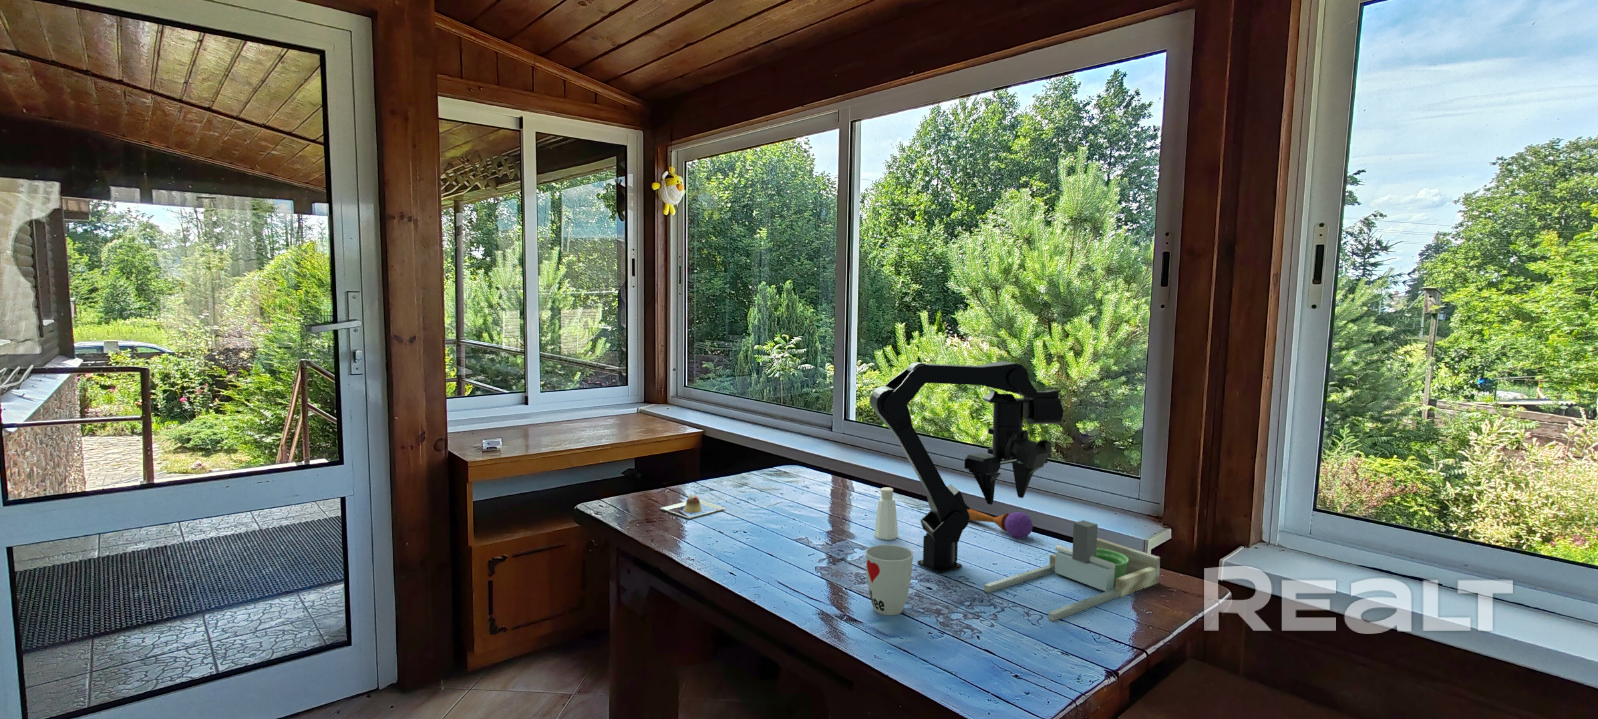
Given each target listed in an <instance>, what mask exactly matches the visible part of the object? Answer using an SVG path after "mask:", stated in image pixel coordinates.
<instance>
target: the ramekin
mask: <svg viewBox="0 0 1598 719" xmlns="http://www.w3.org/2000/svg"><path fill="white" fill-rule="evenodd" d="M1096 557H1097V558H1100V559H1103V560H1106V561H1109V562H1112V563H1115V571H1114V586H1115V585H1116V578H1119V577H1122V576H1125V575H1127V574H1126V570H1127V565H1128V562H1129V559H1128V558H1127V557H1126V556H1125V555H1123V554H1121V553H1118V552H1115V551H1111V550H1106V549H1098V548H1097V551H1096Z"/></svg>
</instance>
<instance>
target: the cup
mask: <svg viewBox="0 0 1598 719" xmlns="http://www.w3.org/2000/svg"><path fill="white" fill-rule="evenodd" d="M913 559H914V553H913V551H912V550H911V549H910V548H908V547H904V546H901V545H896V544H877V545H872V546H870V547H868V548H866V549H865V572H866V580H867V586H868V594H869V598H870V602H871V605H872V608H873V611H874V612H876V613H878V614H880V615H883V616H896V615H899V614H902V613H903V610H904V607H905V605H906V603H907V599H908V595H909V590H910V585H911V581H912V571H913V561H914V560H913Z"/></svg>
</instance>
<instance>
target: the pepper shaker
mask: <svg viewBox="0 0 1598 719" xmlns="http://www.w3.org/2000/svg"><path fill="white" fill-rule="evenodd" d="M880 491H881V492H880V495H881V496H880V498H879V499H878V502H877V509H876V510H877V511H876V518H875V527H874V537H876V538H877V539H878V538H879V540H884V539H885V541H890V540H895V539H897V538H898V537H899V530H898V528H899V527H898V519H897V518H898V516H897V506H896V505H897V504H896V500H895V499H894V498H893V496H894V488H892V487H887V486H886V487H882V488H880Z"/></svg>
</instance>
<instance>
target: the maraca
mask: <svg viewBox="0 0 1598 719" xmlns="http://www.w3.org/2000/svg"><path fill="white" fill-rule="evenodd" d="M967 511H968V513H969V515H970V520H969V521H972V522H973V521H974V522H988V523H994V524H996V525H997V526H998V527H999V529H1001V530H1002V531H1003V532H1005V533H1007V534H1008V535H1009V536H1011V537H1012V538H1014V539H1019V540H1021V539H1025V538H1027V537H1028V536H1029V535H1030V534H1031V533H1032V530H1033V528H1034V527H1033V526H1034V525H1033V522H1032V518H1031V517H1030V516H1029V515H1028V514H1026V513H1025V512H1022V511H1015V512H1012V513H1005V514H1001V515H999V516H992V515H989V514H986V513H983V512H981V511H978V510H975V509H972V508H970V509H969V510H967Z"/></svg>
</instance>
